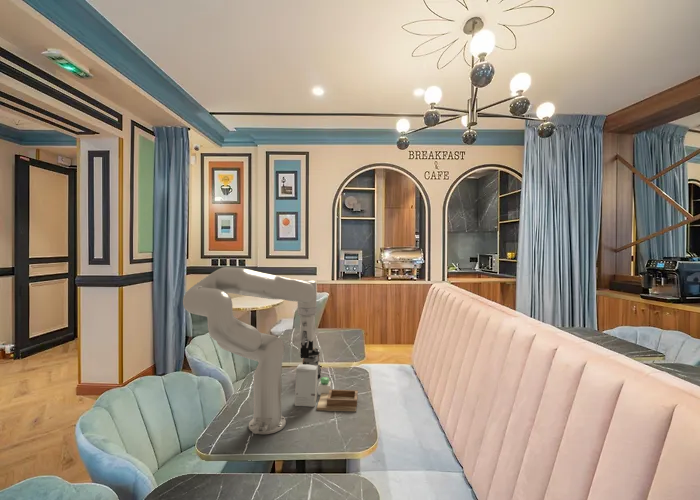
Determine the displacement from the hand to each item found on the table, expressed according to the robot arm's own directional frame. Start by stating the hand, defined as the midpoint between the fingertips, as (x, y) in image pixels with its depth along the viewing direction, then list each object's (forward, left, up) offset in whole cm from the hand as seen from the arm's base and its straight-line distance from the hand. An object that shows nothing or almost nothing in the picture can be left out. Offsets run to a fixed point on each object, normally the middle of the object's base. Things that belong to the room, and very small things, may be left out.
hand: (306, 353), depth 140 cm
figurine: (+27, +3, -20) cm, 34 cm away
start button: (+10, -6, -19) cm, 22 cm away
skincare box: (0, 0, -20) cm, 20 cm away
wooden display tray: (+1, -12, -20) cm, 23 cm away
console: (+10, -6, -20) cm, 23 cm away
